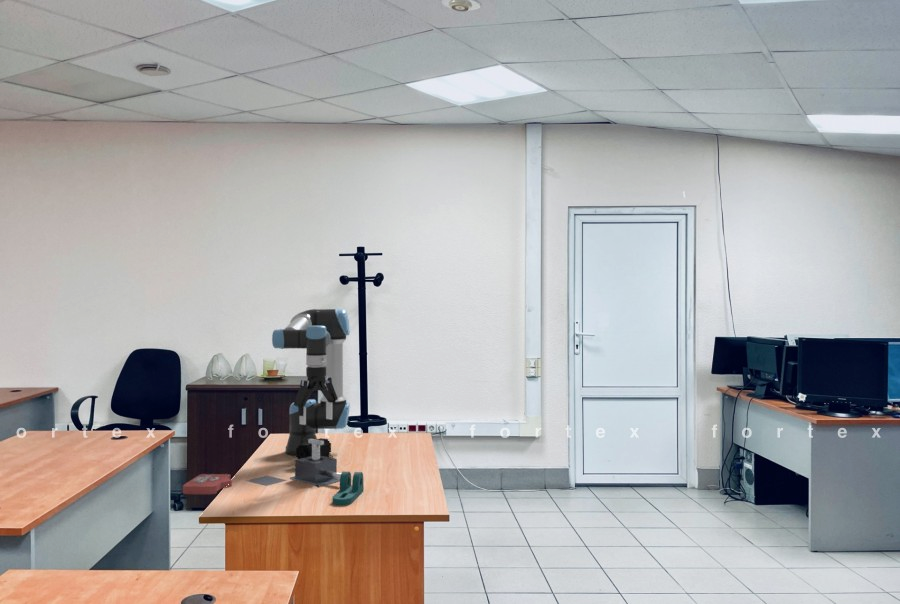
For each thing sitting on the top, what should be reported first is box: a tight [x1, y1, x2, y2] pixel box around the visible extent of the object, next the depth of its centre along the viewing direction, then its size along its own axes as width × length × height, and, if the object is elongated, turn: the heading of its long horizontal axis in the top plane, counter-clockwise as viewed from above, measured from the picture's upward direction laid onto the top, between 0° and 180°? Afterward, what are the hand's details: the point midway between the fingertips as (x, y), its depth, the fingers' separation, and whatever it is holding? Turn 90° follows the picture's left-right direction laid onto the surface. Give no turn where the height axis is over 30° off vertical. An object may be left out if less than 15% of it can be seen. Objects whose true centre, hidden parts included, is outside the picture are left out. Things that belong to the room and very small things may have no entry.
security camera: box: [295, 437, 332, 459], centre depth 292 cm, size 7×18×10 cm, turn 155°
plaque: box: [182, 473, 233, 495], centre depth 256 cm, size 18×4×15 cm
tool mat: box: [245, 475, 288, 487], centre depth 264 cm, size 12×10×1 cm
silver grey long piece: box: [308, 439, 324, 461], centre depth 267 cm, size 7×3×14 cm, turn 54°
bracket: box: [331, 470, 364, 506], centre depth 243 cm, size 18×7×8 cm, turn 172°
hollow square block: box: [289, 456, 342, 488], centre depth 265 cm, size 22×12×8 cm, turn 54°
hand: (316, 421), depth 267 cm, fingers open, 13 cm apart
